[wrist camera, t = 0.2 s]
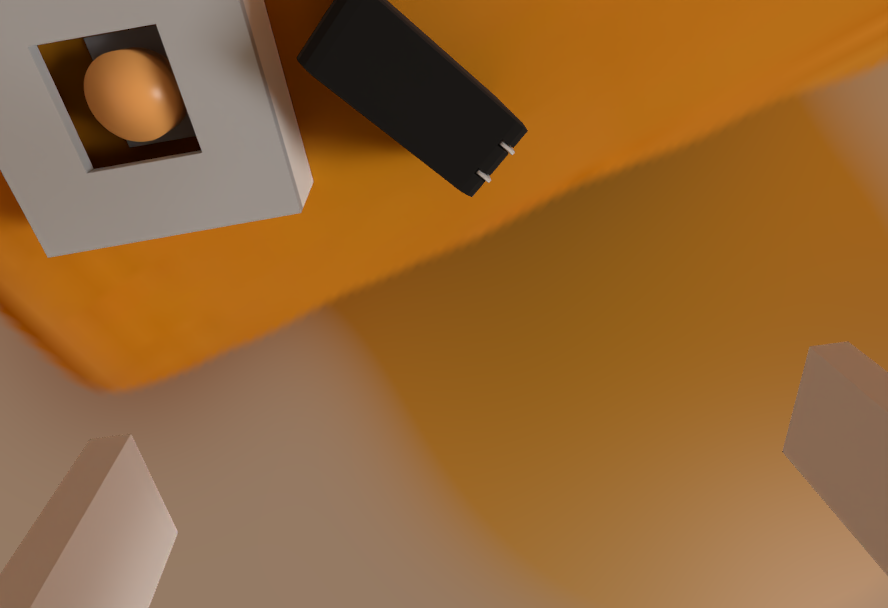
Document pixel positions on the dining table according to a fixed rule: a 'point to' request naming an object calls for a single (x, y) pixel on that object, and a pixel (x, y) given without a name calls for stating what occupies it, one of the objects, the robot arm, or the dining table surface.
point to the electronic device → (412, 90)
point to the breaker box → (166, 178)
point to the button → (134, 94)
